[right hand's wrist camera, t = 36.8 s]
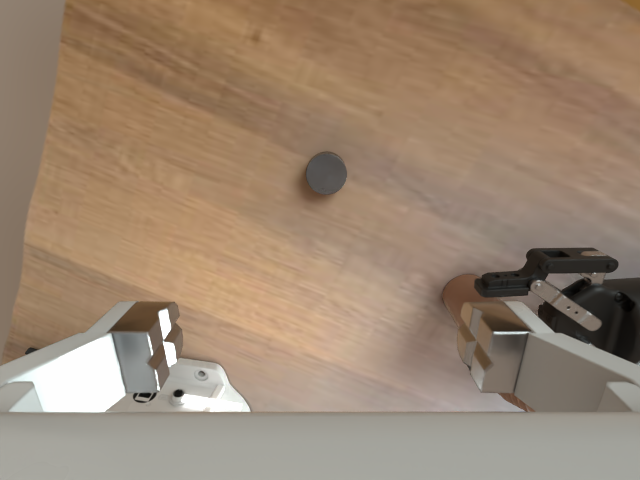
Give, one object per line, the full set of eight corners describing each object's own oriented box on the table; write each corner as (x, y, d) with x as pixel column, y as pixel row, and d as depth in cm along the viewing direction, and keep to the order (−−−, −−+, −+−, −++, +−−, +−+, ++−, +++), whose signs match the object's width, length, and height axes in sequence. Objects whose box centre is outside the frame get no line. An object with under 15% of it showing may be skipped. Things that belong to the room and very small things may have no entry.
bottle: (497, 292, 38) (622, 428, 22) (462, 321, 39) (556, 469, 23) (467, 265, 37) (576, 387, 21) (432, 295, 38) (509, 432, 22)
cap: (304, 154, 33) (303, 156, 32) (343, 149, 33) (344, 151, 31) (310, 192, 34) (309, 197, 33) (347, 187, 34) (348, 191, 33)
